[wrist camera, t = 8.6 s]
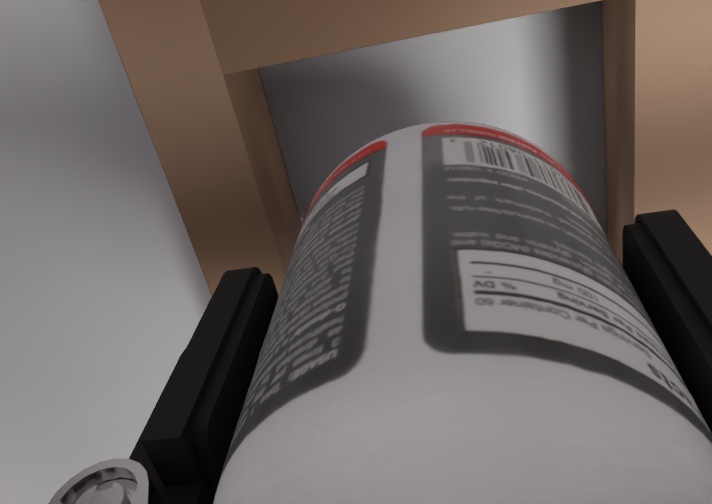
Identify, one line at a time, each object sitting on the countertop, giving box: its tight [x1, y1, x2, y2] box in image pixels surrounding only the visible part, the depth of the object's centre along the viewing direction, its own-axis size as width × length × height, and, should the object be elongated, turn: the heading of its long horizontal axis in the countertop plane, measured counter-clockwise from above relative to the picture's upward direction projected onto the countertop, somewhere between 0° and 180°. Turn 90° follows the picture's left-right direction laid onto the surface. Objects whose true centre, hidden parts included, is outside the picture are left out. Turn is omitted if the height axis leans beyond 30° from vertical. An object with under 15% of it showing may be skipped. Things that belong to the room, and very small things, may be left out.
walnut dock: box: [98, 0, 712, 296], centre depth 15 cm, size 12×12×2 cm
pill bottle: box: [213, 122, 712, 504], centre depth 8 cm, size 6×6×10 cm
